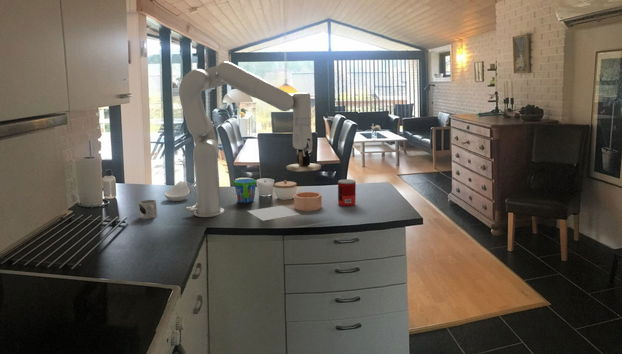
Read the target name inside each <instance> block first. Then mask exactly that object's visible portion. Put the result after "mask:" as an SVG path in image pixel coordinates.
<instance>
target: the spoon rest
mask: <svg viewBox="0 0 622 354" xmlns="http://www.w3.org/2000/svg"><path fill="white" fill-rule="evenodd" d="M191 193H192V187H191V184H190V183H189V181H186V180H185V181H183V180H180V181H179V182H177V183H175V185H173V186H172V187H171V188H169V189H168V190H167V191H165V193H164V194H163V195H164V197H165V198H166V199H167V200H169V201H170V202H182V201H185V200H186V199H187V198H188V197H189V196H190V194H191Z"/></svg>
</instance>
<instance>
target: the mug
mask: <svg viewBox="0 0 622 354" xmlns="http://www.w3.org/2000/svg"><path fill="white" fill-rule="evenodd" d="M138 206H139V217H140V219H141V220H152V219H156V218H158V210H157V201H156V199H145V200H141V201H139V202H138Z"/></svg>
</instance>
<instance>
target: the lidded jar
mask: <svg viewBox="0 0 622 354" xmlns="http://www.w3.org/2000/svg"><path fill="white" fill-rule="evenodd" d="M297 185H298V184H297V182H295V181H287V180H286V179H284V180H283V181H277V182H275V183H274V185H273V186H274V193H275V196H276V198H278V200H282V201H289V200H293V198H294V194H296V193H297V187H298V186H297Z"/></svg>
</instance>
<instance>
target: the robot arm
mask: <svg viewBox="0 0 622 354" xmlns="http://www.w3.org/2000/svg"><path fill="white" fill-rule="evenodd" d="M224 85H228V87H229V86H230V87H232V88H234V89H235V90H238V91H240V92H241V93H244V94H246V95H247V96H249V97H251V98H255V99H258V100H259V101H262V102H264V103H266V104H268V105H270V106H272V107H274V108H276V109H277V110H279V111H281V112H288V111H289V110H292V113H293V115H292V116H293V127H292V147H293V148H294V149H295V151H296V155H297V156H296V158H297V159H296V160H297V164H299V152H303V156H302V158H303V166H307V165H310V163H311V160H310V158H311V157H310V156H311V153H312V151H313V132H312V109H311V108H312V103H311V99H312V98H311V94H310V93H309V92H294V93H291V92H289V93H288V92H287V91H285V90H284V89H281V88H279V87H278V86H275V85H274V84H271V83H270V82H267V81H265V80H264V79H263V78H261V77H260V76H257V75H256V74H253V73H252V72H250V71H249V70H248V71H247V70H246V69H244V68H242V67H240V66H238V65H237V64H234V63H233V62H229V61H225V60H224V61H221V62H220V63H218V65H215V66H212V67H208V68H204V69H202V68H194V69H192V70H190V71H188V72H187V73H186V74H185V75H184V76H183V77H182V79H181V81H180V83H179V89H178V95H179V99H180V104H181V108H182V113H183V116H184V119H185V123H186V128H187V131H188V132H189V134H190V135H192V138H193V141H194V148H193V152H192V155H193V163H194V164H193V165H194V174H195V175H194V176H195V188H196V203H195V204H194V205H193V206H186V207H185V211H186V212H188V213H189V212H191V213H192V212H193V214H194V216H195V217H198V218H199V217H200V218H213V217H216V216H220V215H223V214H224V213H225V209H224V208H222V207H221V197H220V196H221V194H220V193H221V191H220V177H219V176H220V174H219V172H220V171H219V161H218V153H219V149H220V148H219V143H218V139H217V137H216V136H217V135H216V132H215V129H214V125H213V122H212V120H211V118H210V116H208V115H207V113H206V109H205V106H204V101H203V98H202V92H203V91H207V90H211V89H214V88H218V87H221V86H224Z"/></svg>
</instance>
